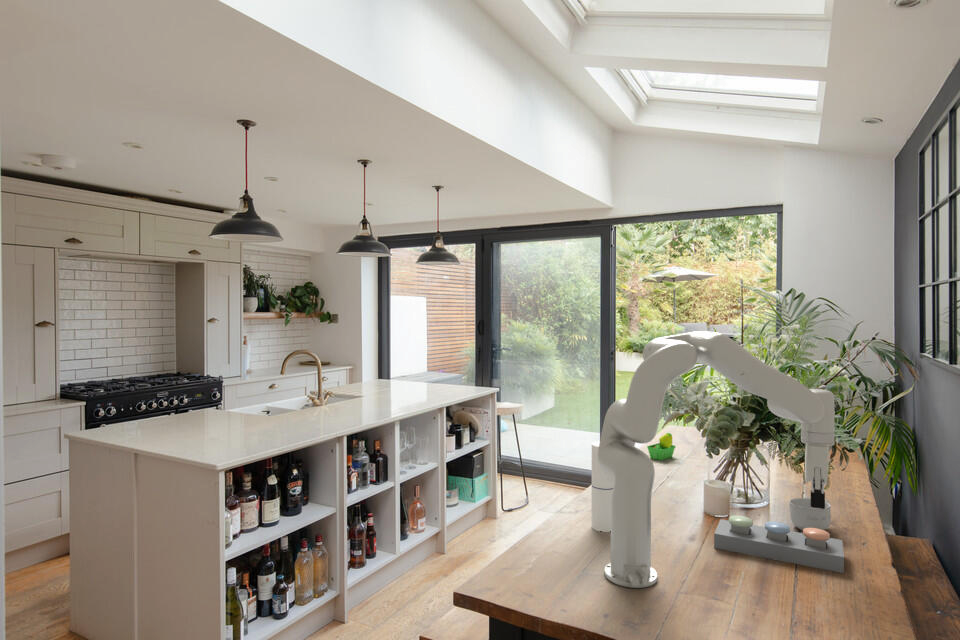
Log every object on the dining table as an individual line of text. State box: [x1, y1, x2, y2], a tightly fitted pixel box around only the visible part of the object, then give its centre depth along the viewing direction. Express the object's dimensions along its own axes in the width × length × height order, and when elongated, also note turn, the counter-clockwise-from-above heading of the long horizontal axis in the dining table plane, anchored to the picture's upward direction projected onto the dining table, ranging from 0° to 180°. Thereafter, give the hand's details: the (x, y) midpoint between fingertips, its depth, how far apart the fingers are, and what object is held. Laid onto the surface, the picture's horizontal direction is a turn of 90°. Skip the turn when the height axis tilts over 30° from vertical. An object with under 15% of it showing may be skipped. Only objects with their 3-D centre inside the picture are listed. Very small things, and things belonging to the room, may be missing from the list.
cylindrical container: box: [591, 440, 614, 533], centre depth 172 cm, size 7×7×25 cm
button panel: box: [713, 518, 845, 574], centre depth 155 cm, size 30×12×4 cm, turn 60°
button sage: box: [728, 515, 754, 535], centre depth 160 cm, size 6×6×4 cm
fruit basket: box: [646, 432, 676, 461], centre depth 250 cm, size 11×9×11 cm
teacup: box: [788, 497, 832, 531], centre depth 171 cm, size 14×11×8 cm
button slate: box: [764, 521, 791, 542], centre depth 155 cm, size 6×6×4 cm
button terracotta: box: [802, 528, 831, 549], centre depth 151 cm, size 6×6×4 cm
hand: (817, 506), depth 150 cm, fingers closed
